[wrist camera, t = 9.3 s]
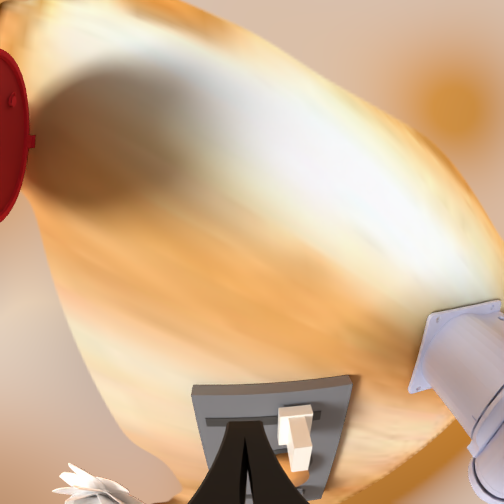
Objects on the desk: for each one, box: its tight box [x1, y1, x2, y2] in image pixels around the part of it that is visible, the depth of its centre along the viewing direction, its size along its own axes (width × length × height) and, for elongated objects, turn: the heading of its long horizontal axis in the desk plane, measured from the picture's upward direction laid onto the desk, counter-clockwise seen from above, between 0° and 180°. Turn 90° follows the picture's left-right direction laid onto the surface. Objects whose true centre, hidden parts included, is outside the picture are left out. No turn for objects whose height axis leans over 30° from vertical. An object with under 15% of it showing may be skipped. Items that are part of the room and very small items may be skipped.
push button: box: [275, 453, 309, 487], centre depth 21 cm, size 4×4×2 cm
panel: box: [191, 375, 353, 504], centre depth 23 cm, size 12×20×1 cm, turn 2°
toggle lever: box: [277, 405, 313, 472], centre depth 18 cm, size 2×4×4 cm, turn 2°
